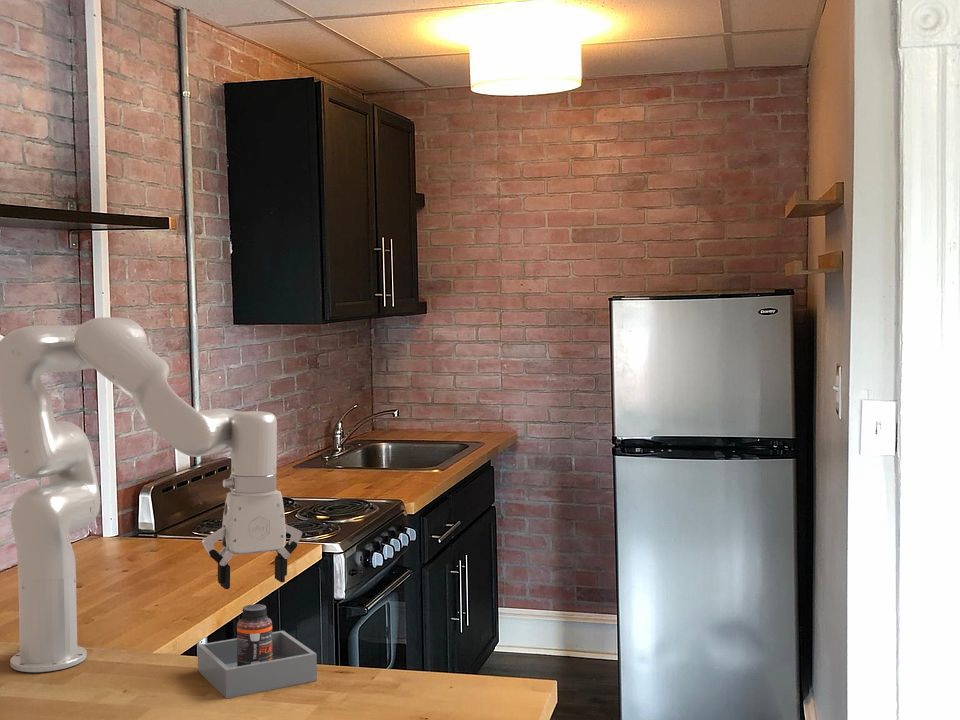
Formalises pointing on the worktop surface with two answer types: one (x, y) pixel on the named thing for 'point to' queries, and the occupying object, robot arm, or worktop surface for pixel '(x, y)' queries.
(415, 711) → the worktop surface
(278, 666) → the bin
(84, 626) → the worktop surface
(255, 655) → the supplement bottle
